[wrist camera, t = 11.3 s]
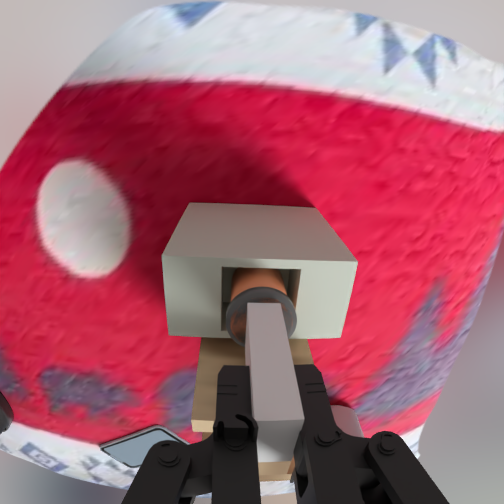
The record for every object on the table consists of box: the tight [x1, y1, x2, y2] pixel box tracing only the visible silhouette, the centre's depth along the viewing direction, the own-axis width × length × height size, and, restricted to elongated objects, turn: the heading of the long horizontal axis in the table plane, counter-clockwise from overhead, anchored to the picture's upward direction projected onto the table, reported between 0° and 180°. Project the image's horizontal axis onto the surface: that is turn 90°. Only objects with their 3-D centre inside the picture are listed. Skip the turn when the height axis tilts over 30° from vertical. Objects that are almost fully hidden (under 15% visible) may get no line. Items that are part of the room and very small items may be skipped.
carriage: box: [191, 337, 314, 482], centre depth 21 cm, size 7×7×14 cm
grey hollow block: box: [162, 203, 358, 339], centre depth 21 cm, size 10×5×10 cm, turn 87°
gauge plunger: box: [226, 267, 297, 347], centre depth 17 cm, size 3×3×4 cm
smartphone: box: [100, 425, 190, 468], centre depth 39 cm, size 7×1×15 cm
